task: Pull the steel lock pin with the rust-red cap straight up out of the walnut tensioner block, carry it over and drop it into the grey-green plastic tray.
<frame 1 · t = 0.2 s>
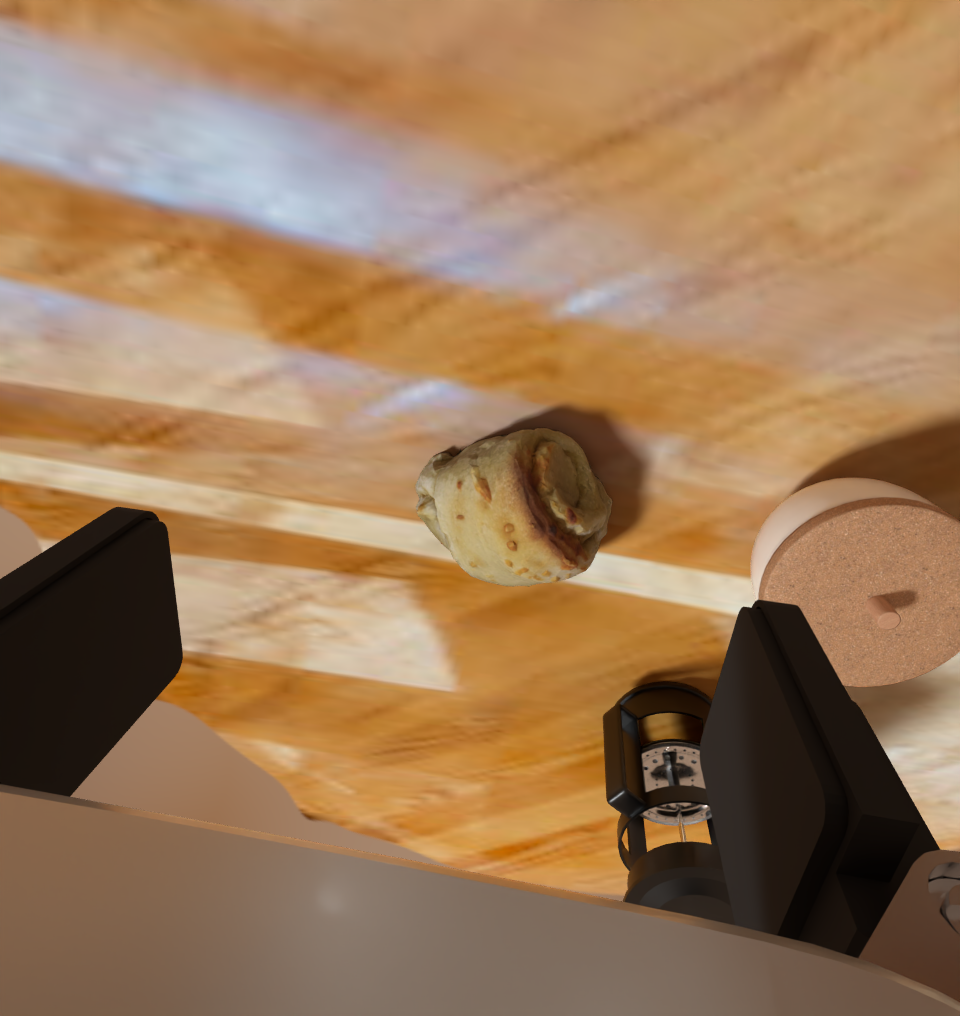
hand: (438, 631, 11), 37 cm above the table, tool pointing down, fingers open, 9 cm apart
pastry: (517, 493, 50), on the table
lidded bowl: (822, 533, 47), on the table
french press: (660, 721, 56), on the table
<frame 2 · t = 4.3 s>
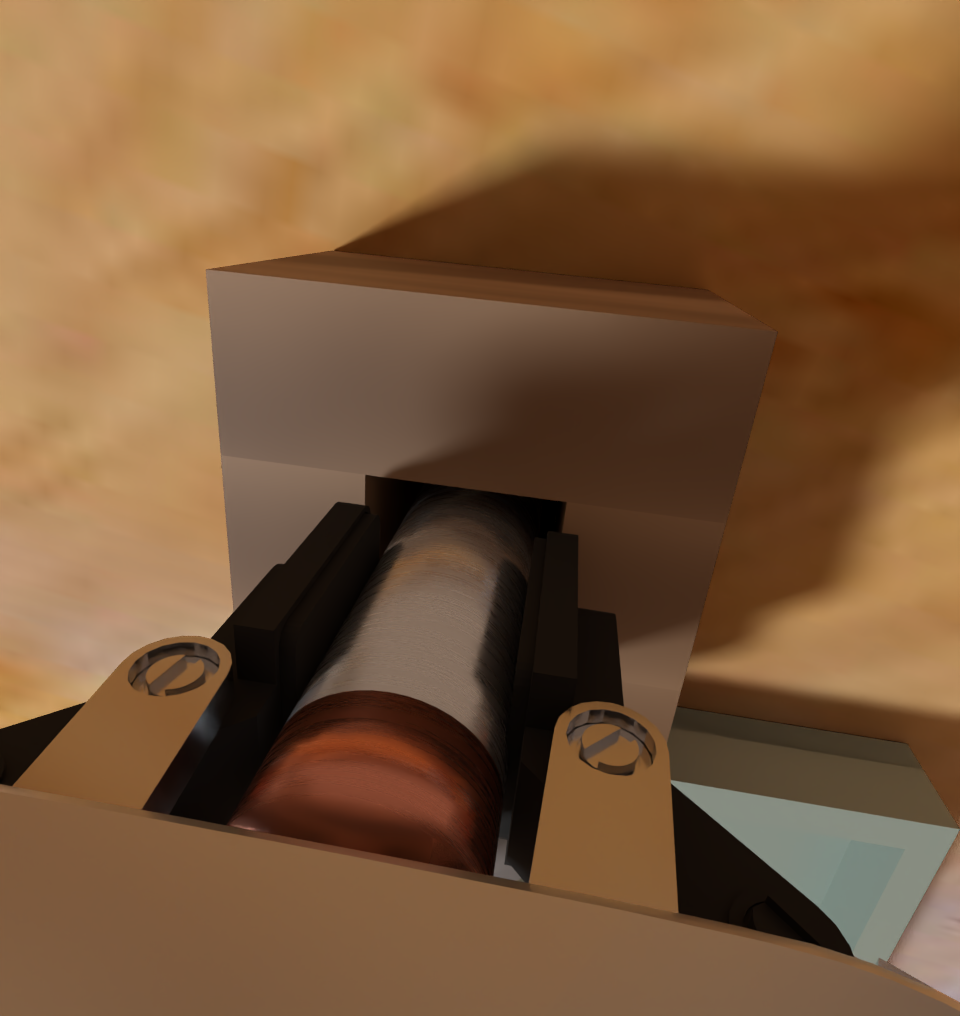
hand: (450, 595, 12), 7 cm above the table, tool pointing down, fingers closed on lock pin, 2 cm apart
lock pin: (494, 465, 18), resting in tensioner block, touching gripper
tray: (655, 867, 23), on the table
tensioner block: (494, 465, 18), on the table
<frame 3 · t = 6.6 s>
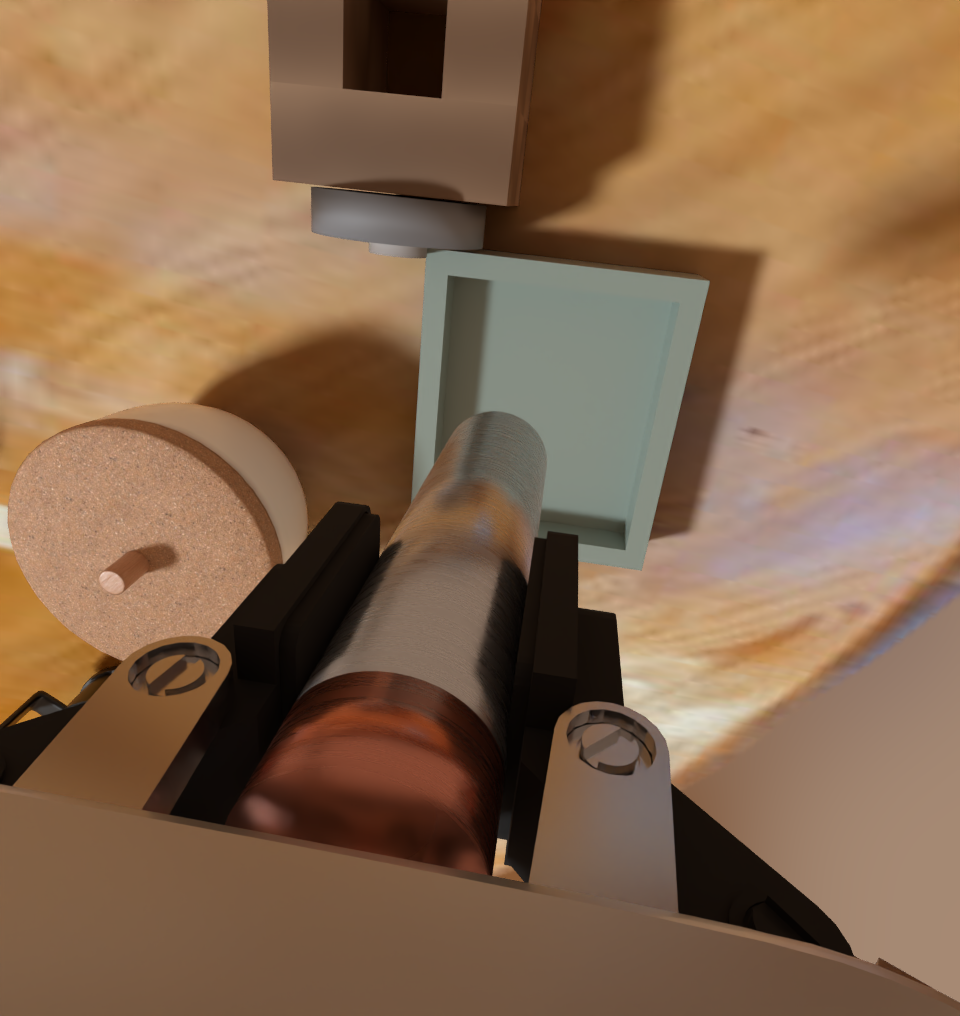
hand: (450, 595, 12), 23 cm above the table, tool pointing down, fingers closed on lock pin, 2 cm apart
lock pin: (495, 461, 18), point 16 cm above the table, touching gripper
tray: (545, 405, 34), on the table
lidded bowl: (234, 482, 38), on the table
tensioner block: (428, 65, 28), on the table
french press: (141, 713, 47), on the table
when the fingers open (9 cm above the table, at t = 9.1 s): lock pin drops 1 cm, resting on tray.
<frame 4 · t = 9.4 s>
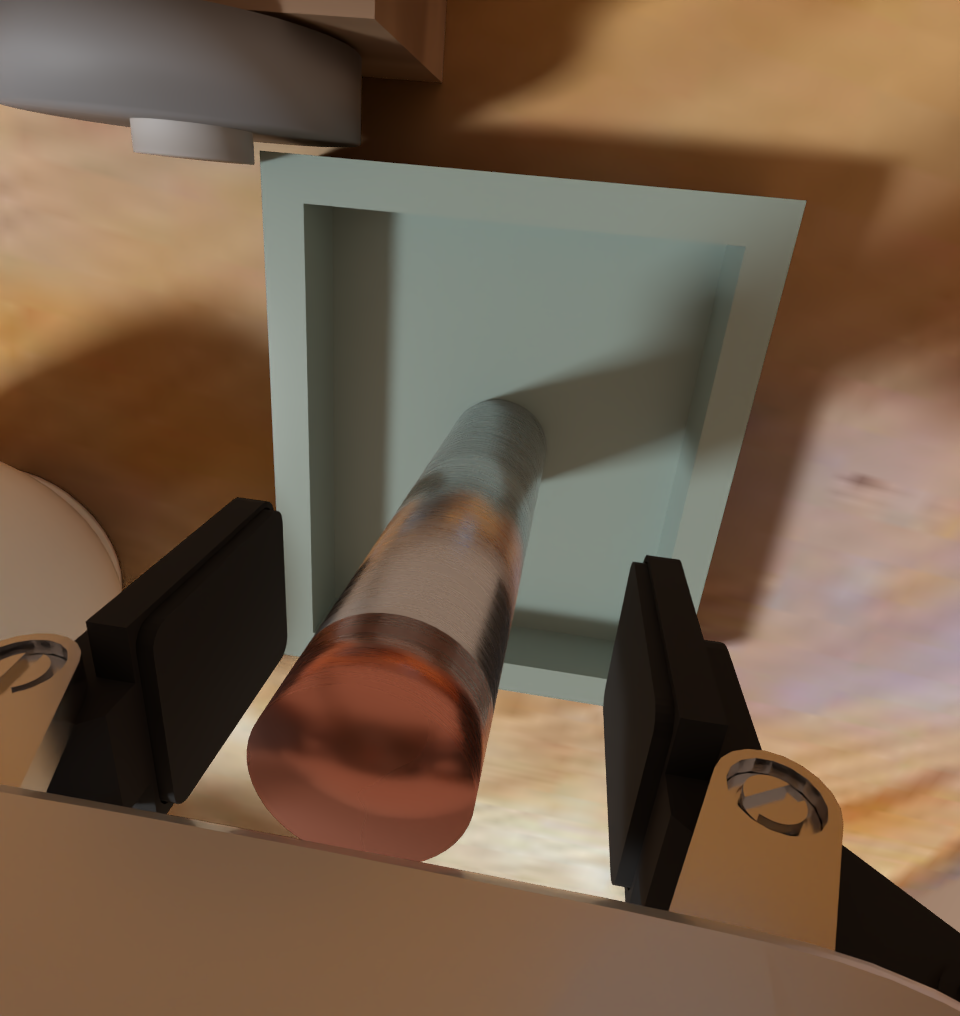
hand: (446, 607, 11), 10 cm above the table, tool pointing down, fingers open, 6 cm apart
lock pin: (498, 446, 19), point 1 cm above the table, touching tray
tray: (504, 437, 20), on the table
lidded bowl: (35, 556, 25), on the table
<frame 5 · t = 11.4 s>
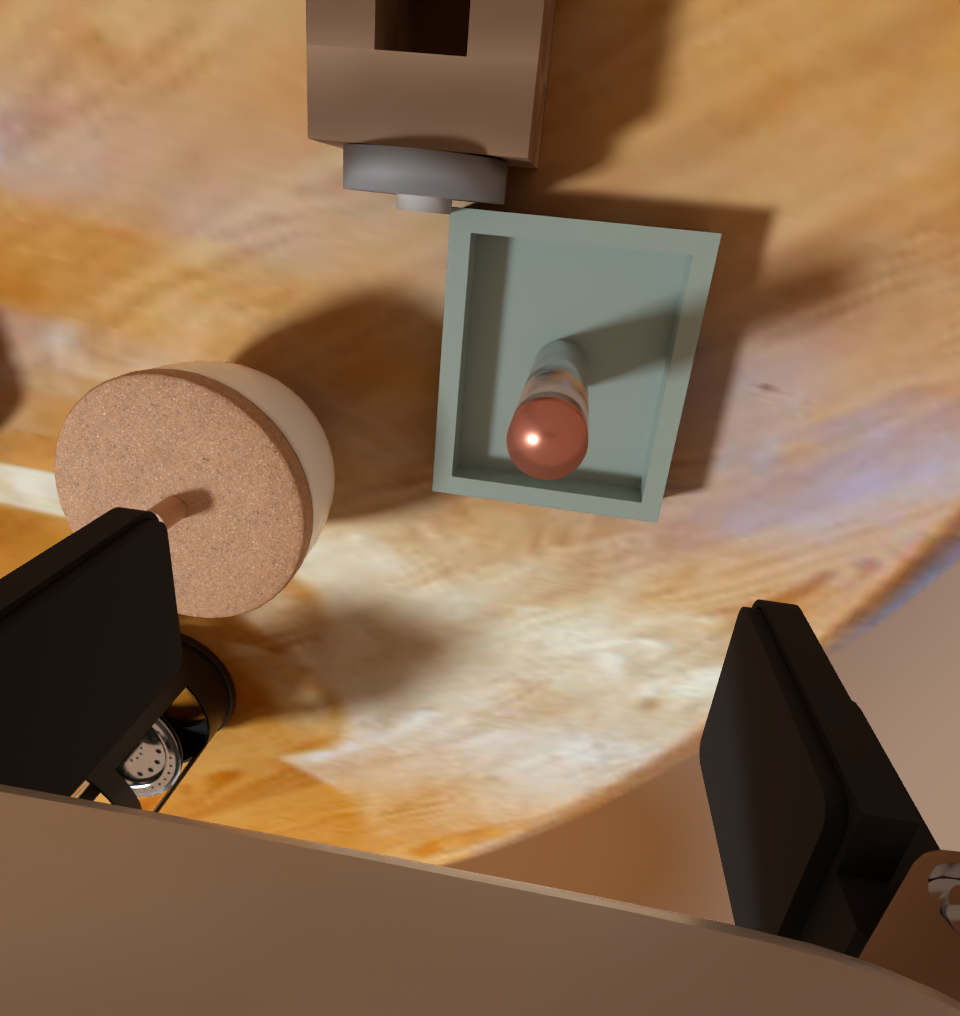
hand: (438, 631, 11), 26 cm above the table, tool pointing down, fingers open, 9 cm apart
lock pin: (561, 366, 34), point 1 cm above the table, touching tray
tray: (563, 363, 35), on the table
lidded bowl: (264, 445, 40), on the table
tensioner block: (452, 35, 30), on the table
french press: (170, 677, 48), on the table
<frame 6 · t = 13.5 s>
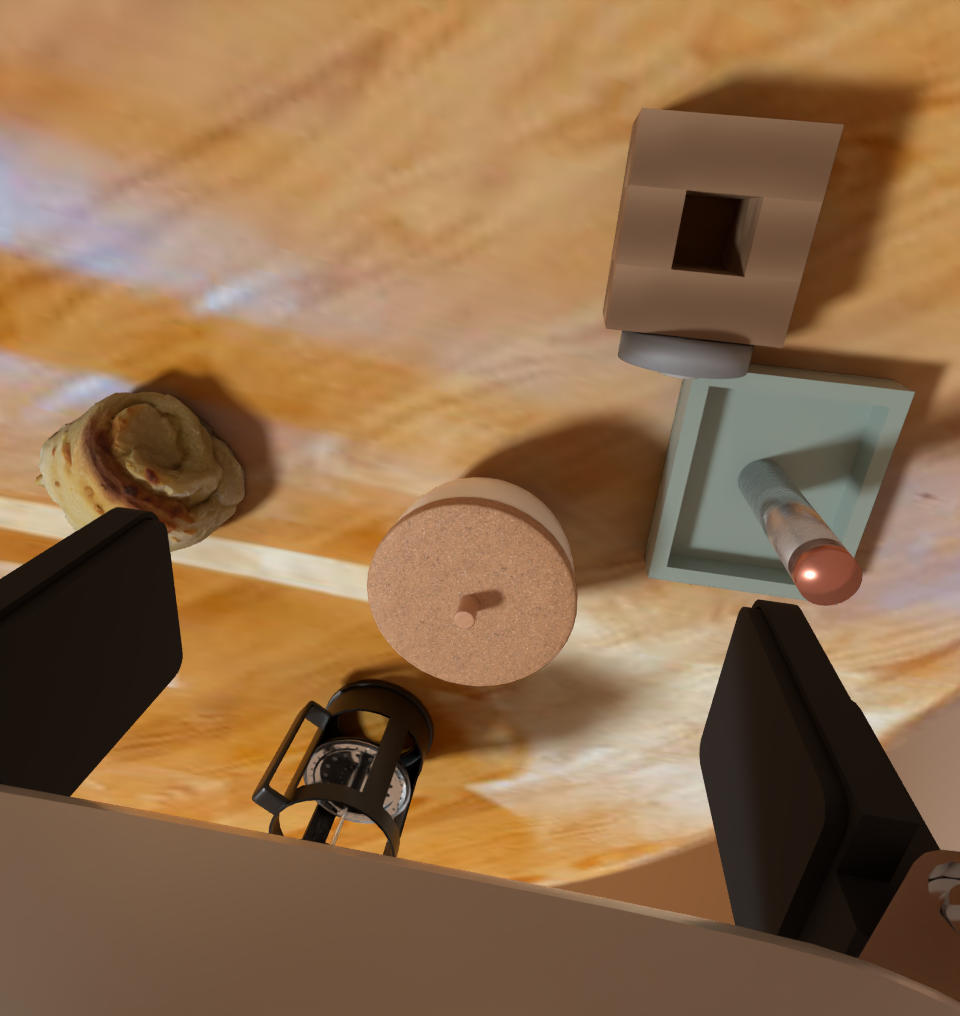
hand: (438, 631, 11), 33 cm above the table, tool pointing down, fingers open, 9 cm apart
lock pin: (760, 480, 42), point 1 cm above the table, touching tray
pastry: (158, 462, 49), on the table
tray: (758, 475, 43), on the table
lidded bowl: (489, 533, 48), on the table
tensioner block: (696, 231, 38), on the table
french press: (375, 719, 56), on the table
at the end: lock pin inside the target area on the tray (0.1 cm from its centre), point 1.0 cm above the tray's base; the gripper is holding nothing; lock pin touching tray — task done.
